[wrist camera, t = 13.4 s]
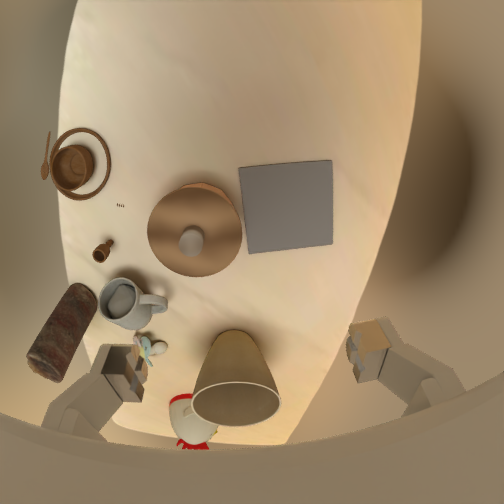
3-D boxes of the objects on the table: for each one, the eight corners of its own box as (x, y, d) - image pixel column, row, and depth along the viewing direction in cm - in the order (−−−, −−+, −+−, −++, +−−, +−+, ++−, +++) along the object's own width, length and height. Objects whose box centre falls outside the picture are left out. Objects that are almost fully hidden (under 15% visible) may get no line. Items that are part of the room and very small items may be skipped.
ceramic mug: (130, 291, 52) (114, 326, 48) (110, 271, 45) (90, 311, 41) (176, 307, 49) (160, 347, 46) (160, 288, 42) (140, 334, 39)
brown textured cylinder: (105, 300, 51) (66, 377, 33) (91, 319, 53) (54, 391, 35) (76, 275, 48) (25, 346, 30) (63, 296, 50) (18, 364, 32)
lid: (141, 193, 37) (130, 204, 33) (235, 179, 37) (235, 188, 33) (162, 275, 43) (155, 293, 39) (246, 266, 43) (248, 284, 39)
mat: (238, 167, 41) (238, 168, 41) (331, 160, 41) (332, 160, 41) (248, 252, 48) (249, 254, 47) (331, 243, 48) (332, 244, 47)
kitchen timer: (218, 421, 72) (218, 466, 58) (170, 415, 70) (164, 460, 57) (224, 396, 66) (224, 448, 52) (169, 389, 64) (161, 440, 50)
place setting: (136, 133, 38) (122, 137, 33) (121, 249, 47) (109, 266, 42) (47, 124, 36) (27, 128, 30) (43, 230, 44) (26, 243, 39)
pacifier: (129, 330, 53) (142, 348, 49) (155, 321, 57) (170, 337, 54) (133, 354, 56) (146, 373, 53) (157, 345, 60) (171, 362, 57)
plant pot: (212, 371, 61) (209, 431, 46) (187, 323, 54) (175, 389, 40) (277, 358, 60) (287, 419, 45) (262, 307, 53) (271, 374, 39)
